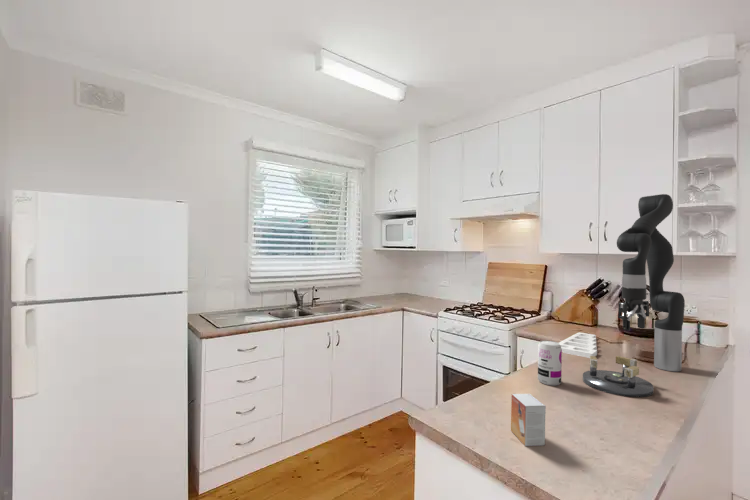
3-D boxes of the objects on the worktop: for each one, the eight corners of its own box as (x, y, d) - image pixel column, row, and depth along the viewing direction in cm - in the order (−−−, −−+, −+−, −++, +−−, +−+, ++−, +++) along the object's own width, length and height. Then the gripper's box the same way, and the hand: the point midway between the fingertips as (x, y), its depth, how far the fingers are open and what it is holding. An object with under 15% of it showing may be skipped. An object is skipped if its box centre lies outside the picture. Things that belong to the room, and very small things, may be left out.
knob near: (615, 373, 142) (615, 356, 142) (618, 372, 143) (618, 355, 143) (634, 378, 136) (634, 360, 136) (636, 377, 138) (636, 359, 137)
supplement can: (560, 380, 140) (561, 341, 140) (561, 387, 133) (562, 347, 133) (537, 377, 144) (538, 339, 144) (537, 384, 136) (538, 344, 136)
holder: (578, 336, 214) (578, 332, 214) (614, 342, 201) (614, 337, 201) (551, 351, 182) (551, 346, 182) (592, 359, 169) (592, 353, 169)
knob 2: (632, 383, 131) (632, 365, 131) (639, 385, 129) (639, 367, 129) (623, 387, 127) (624, 368, 127) (630, 389, 125) (631, 370, 125)
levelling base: (600, 371, 151) (600, 361, 151) (663, 389, 132) (664, 378, 132) (571, 381, 139) (571, 371, 139) (636, 402, 120) (636, 390, 120)
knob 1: (589, 372, 142) (589, 355, 142) (595, 373, 141) (596, 356, 141) (590, 377, 137) (590, 359, 137) (597, 378, 136) (597, 360, 136)
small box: (510, 431, 101) (510, 393, 101) (529, 430, 101) (530, 392, 101) (524, 446, 93) (525, 405, 93) (545, 446, 93) (546, 405, 93)
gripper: (635, 284, 142) (635, 325, 142) (611, 286, 137) (611, 328, 137) (656, 286, 135) (656, 329, 135) (631, 288, 130) (631, 333, 130)
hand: (633, 329), depth 136 cm, fingers open, 8 cm apart
